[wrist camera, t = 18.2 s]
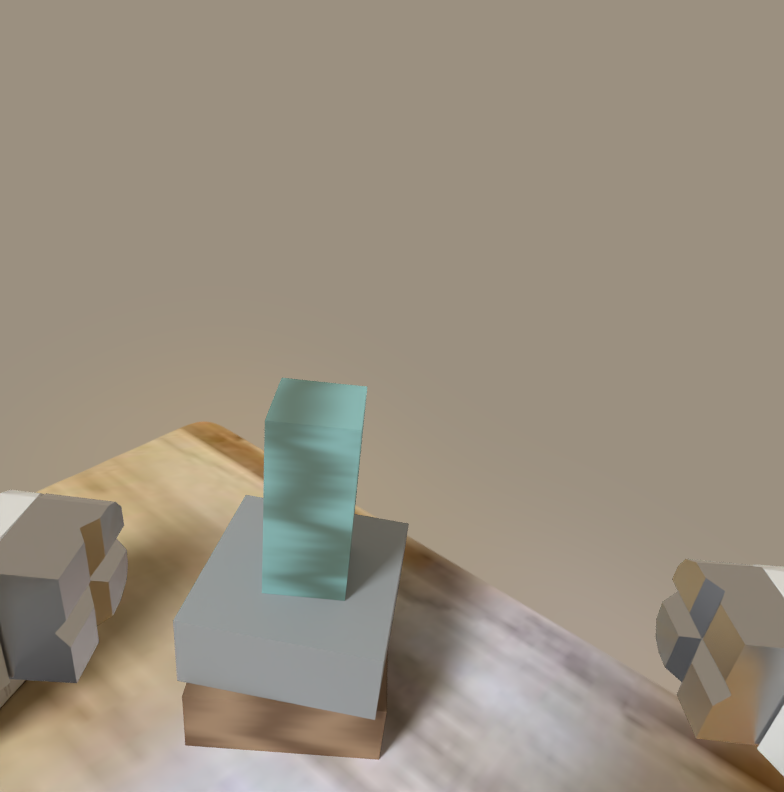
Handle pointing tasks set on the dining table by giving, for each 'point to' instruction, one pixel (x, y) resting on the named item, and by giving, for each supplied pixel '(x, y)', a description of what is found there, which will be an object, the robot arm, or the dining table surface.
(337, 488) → the teal block
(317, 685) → the tower top
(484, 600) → the dining table surface
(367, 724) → the tower base
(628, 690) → the dining table surface
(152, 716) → the dining table surface
